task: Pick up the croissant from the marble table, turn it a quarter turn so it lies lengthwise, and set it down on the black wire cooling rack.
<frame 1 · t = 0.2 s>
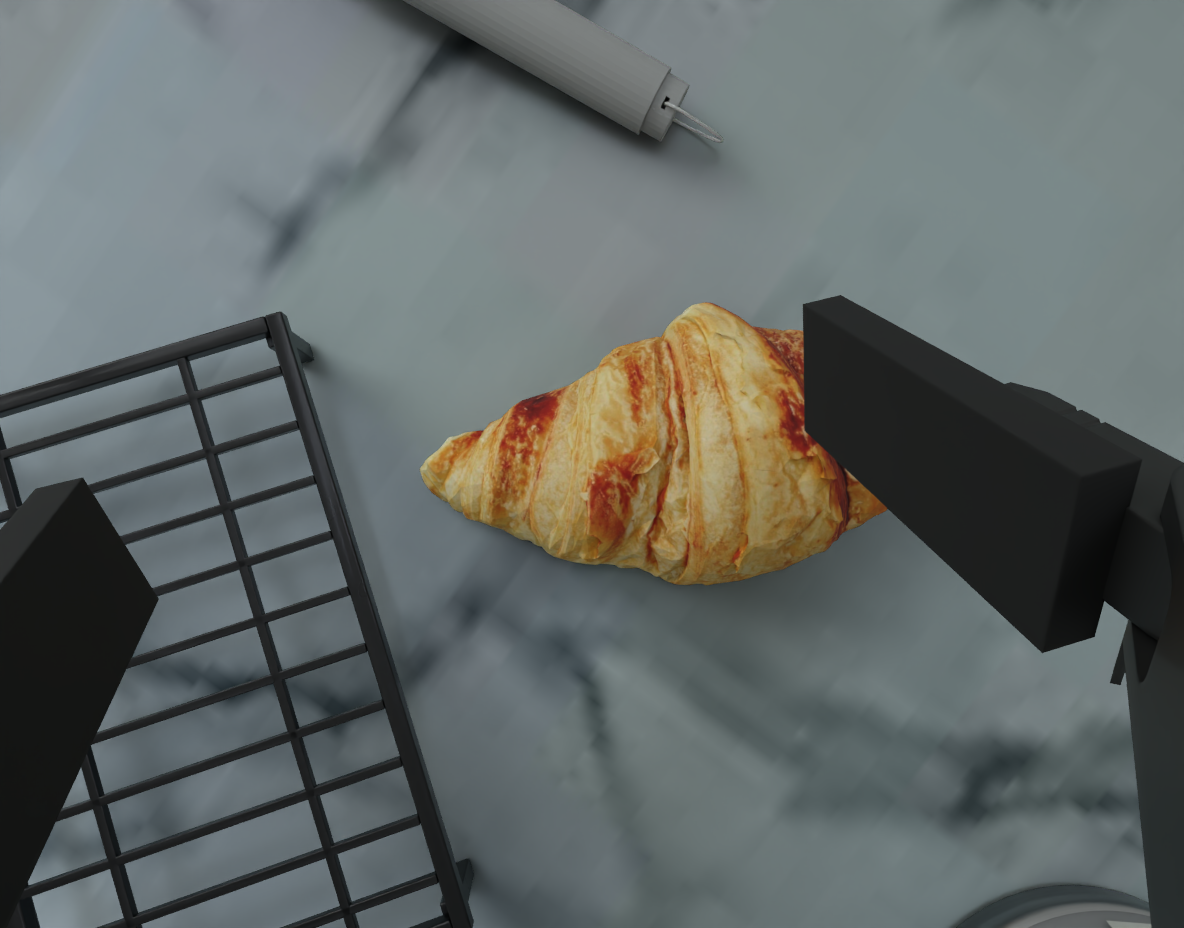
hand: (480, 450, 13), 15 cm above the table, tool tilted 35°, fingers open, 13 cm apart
cooling rack: (218, 660, 28), on the table
croissant: (693, 450, 29), on the table
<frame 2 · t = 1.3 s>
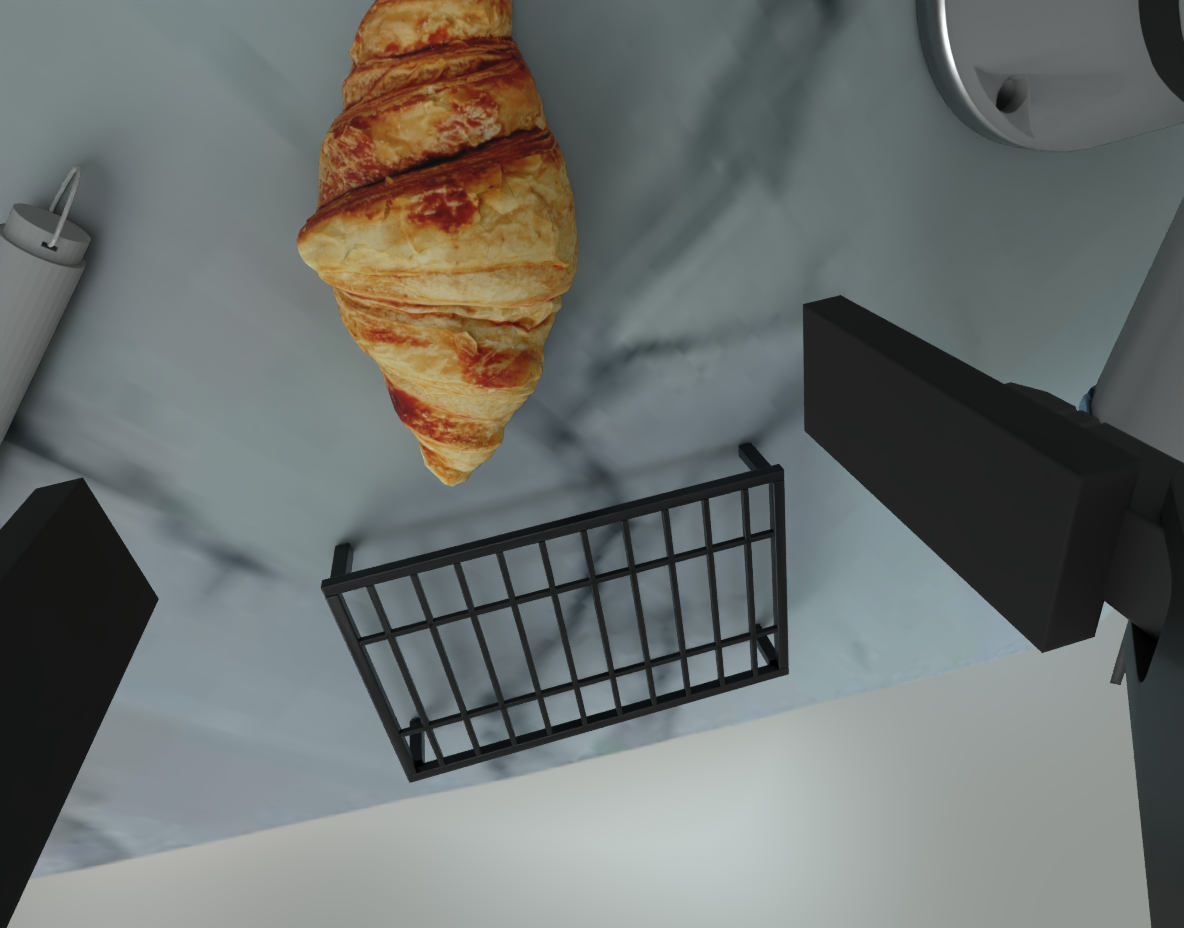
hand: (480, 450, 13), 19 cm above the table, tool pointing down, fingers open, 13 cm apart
cooling rack: (571, 593, 40), on the table
croissant: (441, 233, 30), on the table
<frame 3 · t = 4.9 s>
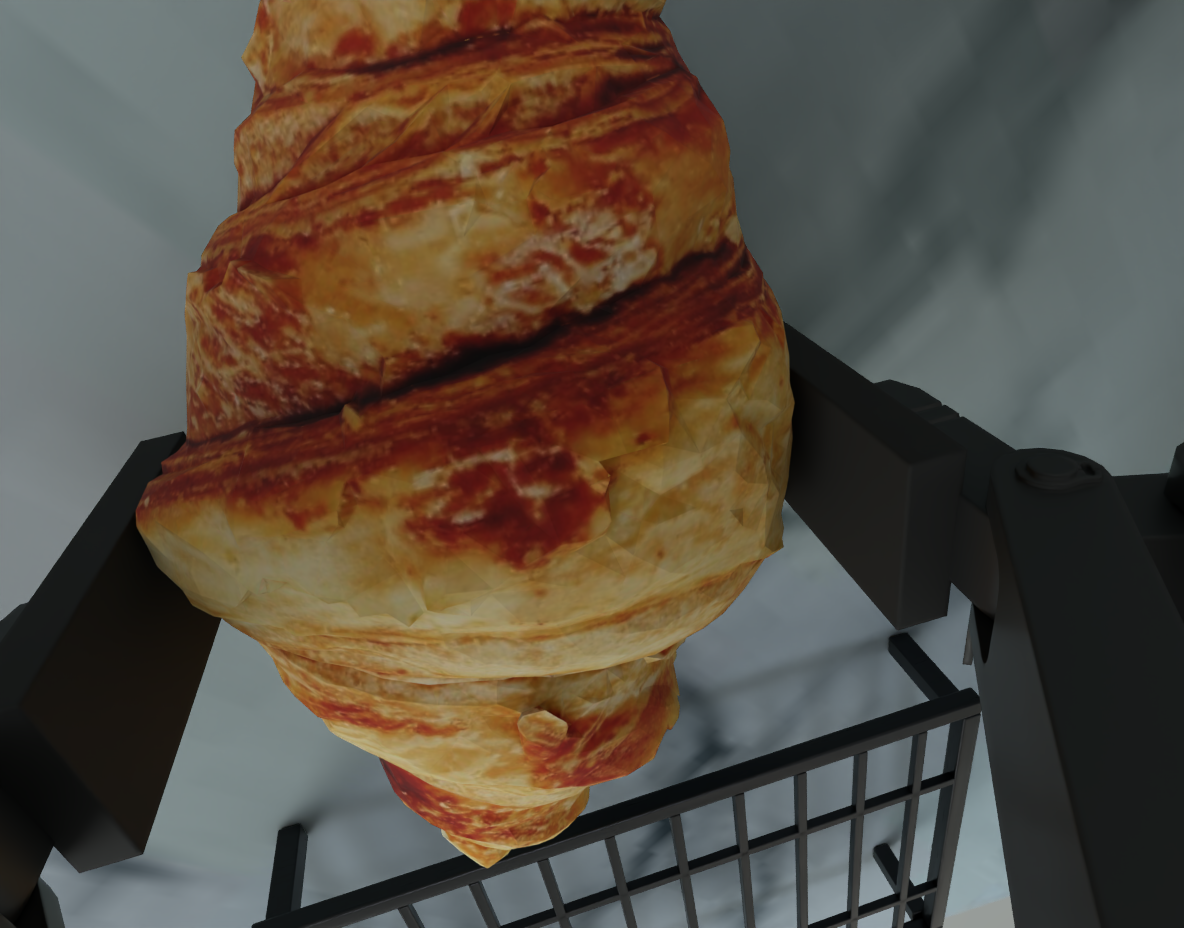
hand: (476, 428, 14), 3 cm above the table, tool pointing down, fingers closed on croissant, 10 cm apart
cooling rack: (636, 842, 27), on the table
croissant: (471, 420, 15), point 2 cm above the table, touching gripper
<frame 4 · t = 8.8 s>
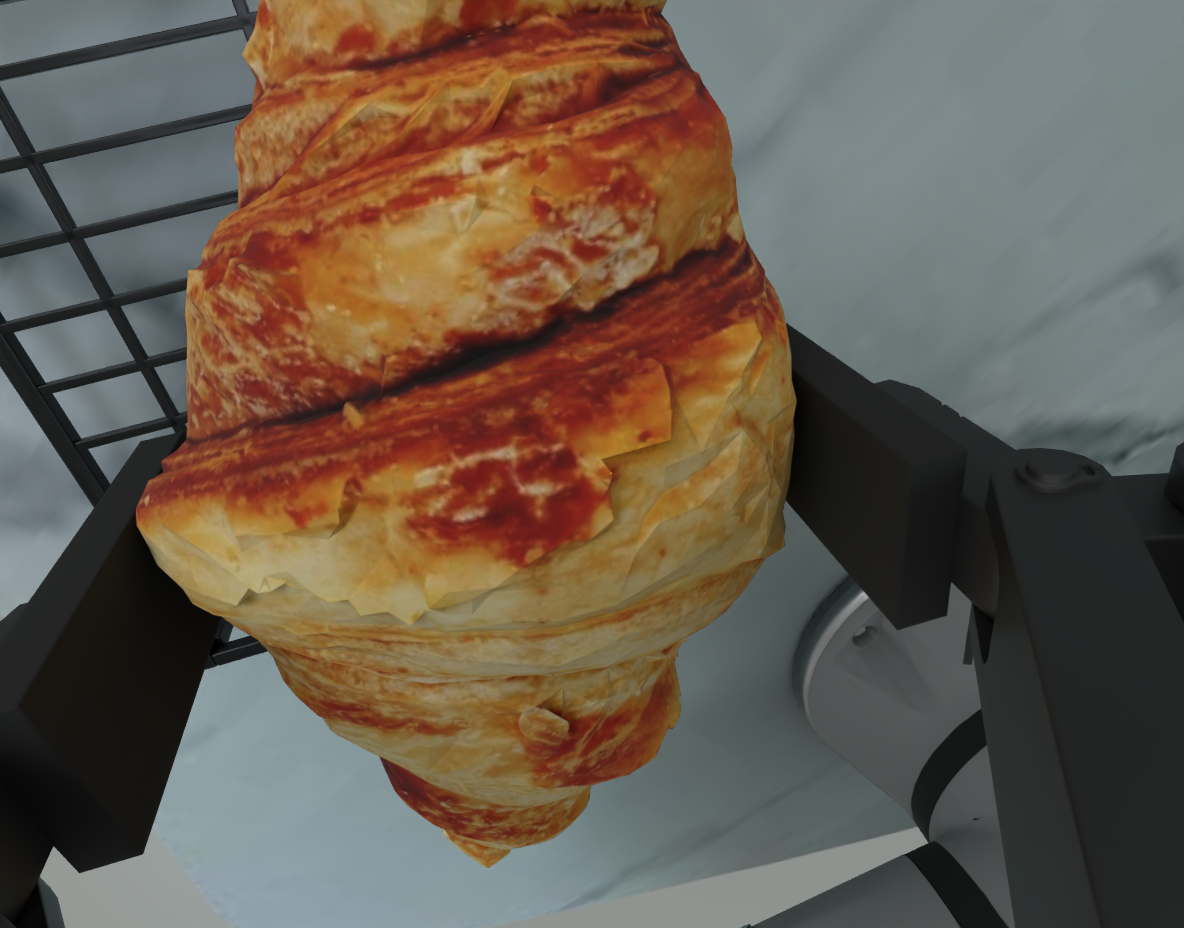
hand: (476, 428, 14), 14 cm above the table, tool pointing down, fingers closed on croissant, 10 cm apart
cooling rack: (280, 332, 26), on the table
croissant: (472, 419, 15), point 14 cm above the table, touching gripper
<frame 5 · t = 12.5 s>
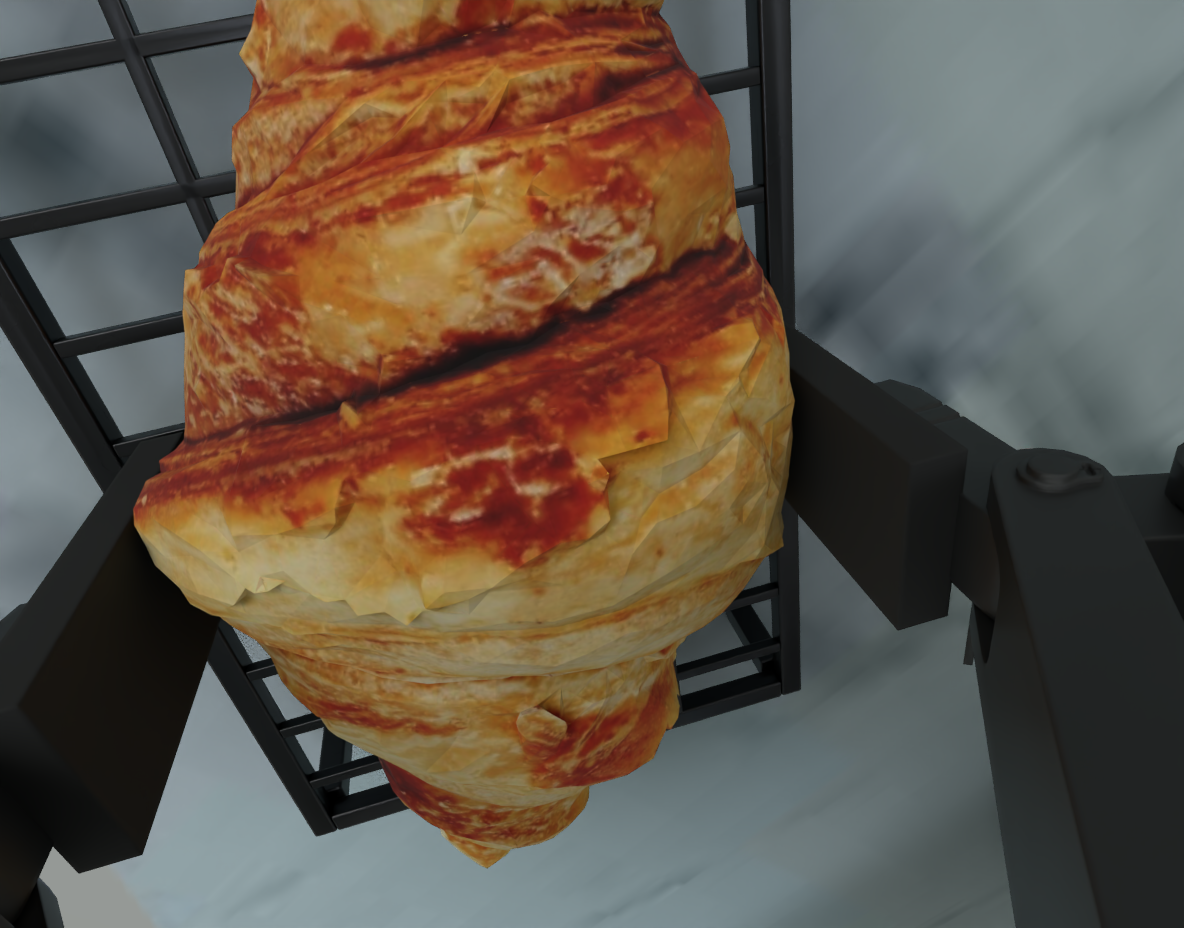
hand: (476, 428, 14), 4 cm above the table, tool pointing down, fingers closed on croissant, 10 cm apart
cooling rack: (459, 354, 17), on the table
croissant: (470, 419, 15), point 3 cm above the table, touching gripper
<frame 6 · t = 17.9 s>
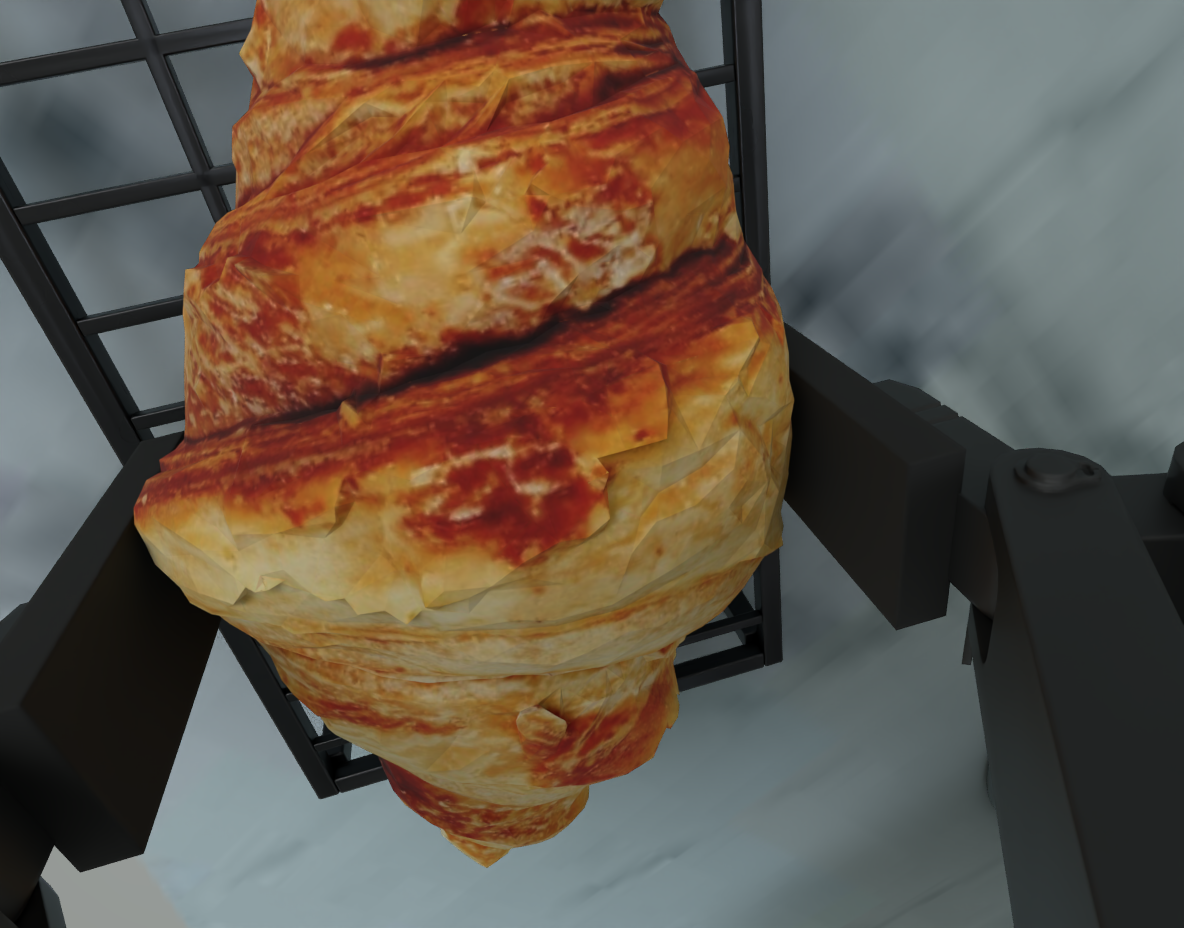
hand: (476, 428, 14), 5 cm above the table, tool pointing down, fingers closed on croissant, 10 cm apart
cooling rack: (455, 338, 18), on the table
croissant: (470, 419, 15), point 5 cm above the table, touching gripper
when the fingers open (5 cm above the table, at t = 22.9 s): croissant drops 1 cm, resting on cooling rack.
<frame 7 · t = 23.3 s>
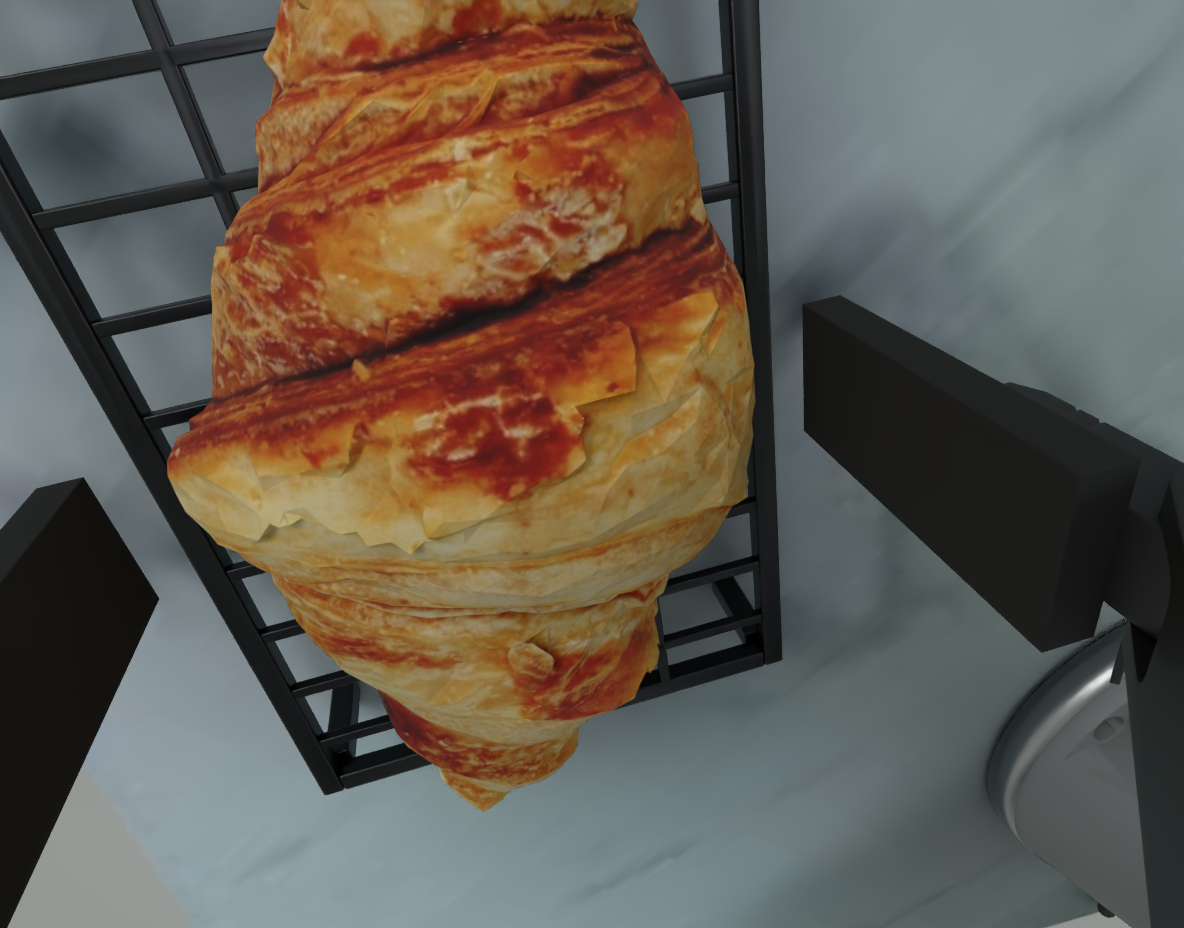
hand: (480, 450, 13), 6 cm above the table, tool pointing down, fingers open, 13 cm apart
cooling rack: (460, 340, 19), on the table
croissant: (467, 391, 16), point 3 cm above the table, touching cooling rack
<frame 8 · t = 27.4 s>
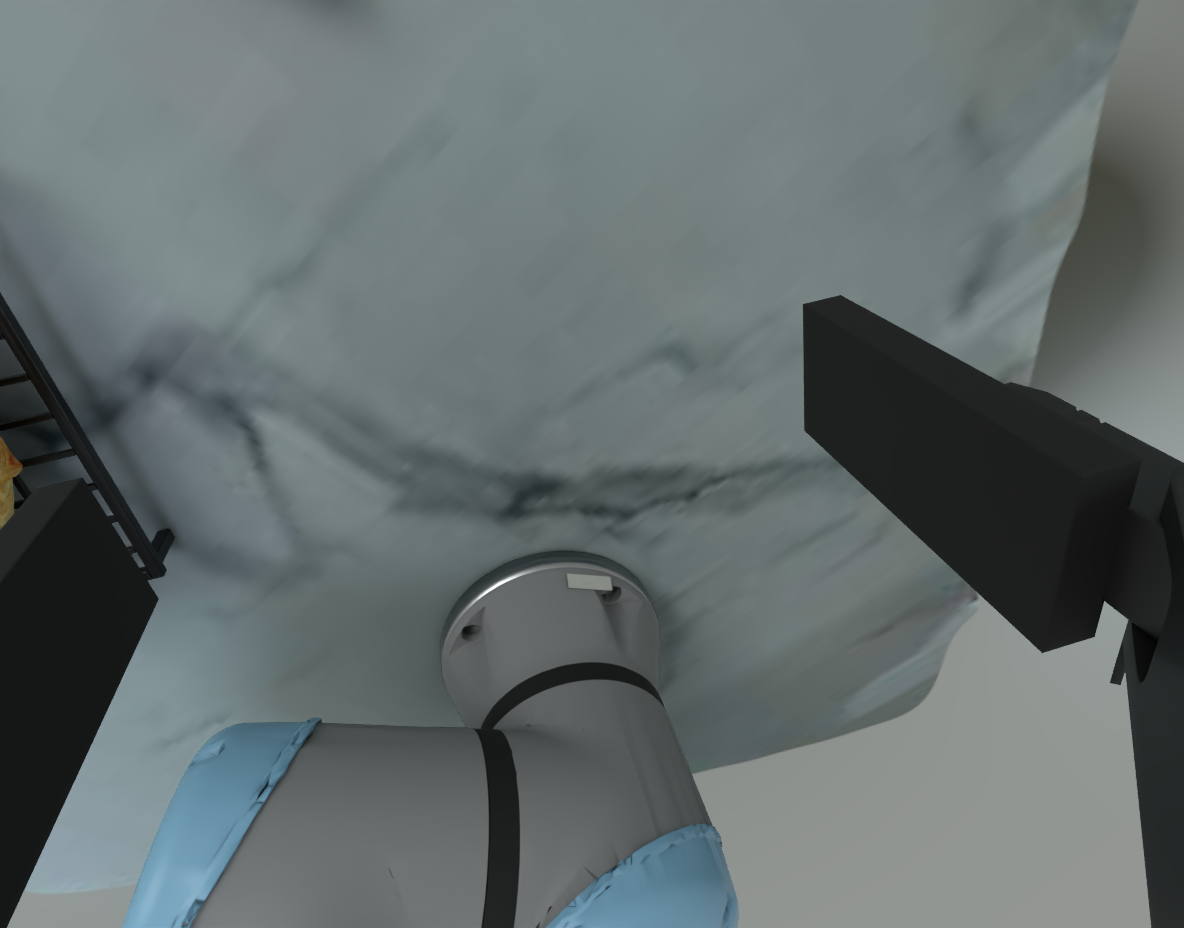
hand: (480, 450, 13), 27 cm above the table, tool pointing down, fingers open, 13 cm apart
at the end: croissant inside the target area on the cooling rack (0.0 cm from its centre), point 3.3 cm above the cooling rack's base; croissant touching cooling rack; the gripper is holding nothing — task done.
